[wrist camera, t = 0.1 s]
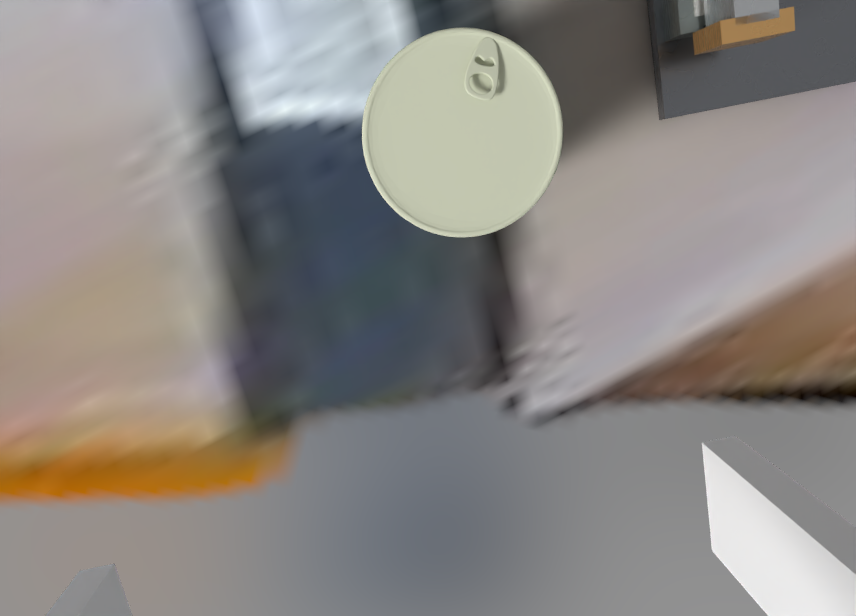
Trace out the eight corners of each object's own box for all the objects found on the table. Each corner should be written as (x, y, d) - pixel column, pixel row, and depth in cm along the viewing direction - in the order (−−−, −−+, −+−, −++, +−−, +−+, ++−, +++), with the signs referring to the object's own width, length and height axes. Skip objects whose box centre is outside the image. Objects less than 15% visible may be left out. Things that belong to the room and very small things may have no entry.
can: (531, 91, 39) (594, 56, 27) (491, 235, 40) (535, 260, 29) (387, 50, 38) (387, -5, 26) (353, 200, 39) (339, 212, 28)
